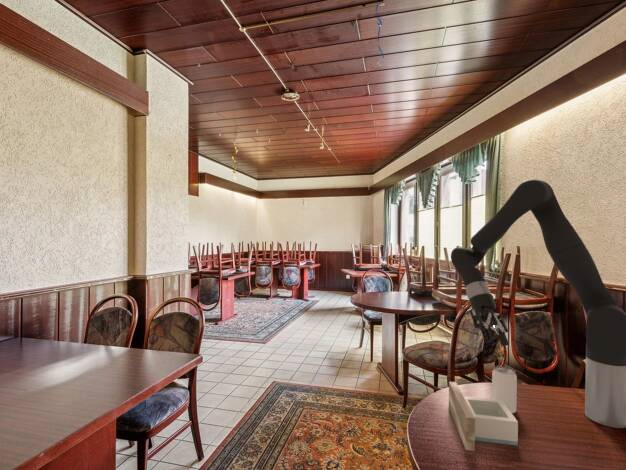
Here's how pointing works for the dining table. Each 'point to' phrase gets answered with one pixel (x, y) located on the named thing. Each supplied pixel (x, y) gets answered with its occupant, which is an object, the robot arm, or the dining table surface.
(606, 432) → the dining table surface
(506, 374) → the can
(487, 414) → the socket block
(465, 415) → the stop board
